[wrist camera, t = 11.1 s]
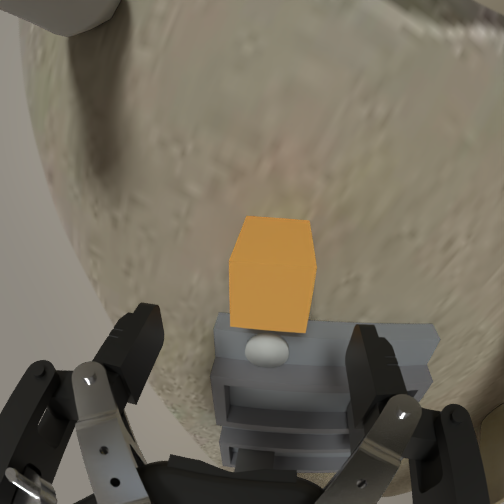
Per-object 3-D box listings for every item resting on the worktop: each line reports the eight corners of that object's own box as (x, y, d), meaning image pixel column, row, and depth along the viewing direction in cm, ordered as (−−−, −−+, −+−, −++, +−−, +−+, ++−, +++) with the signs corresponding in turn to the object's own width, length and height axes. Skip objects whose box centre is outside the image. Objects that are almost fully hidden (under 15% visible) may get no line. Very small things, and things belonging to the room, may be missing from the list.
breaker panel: (433, 321, 21) (449, 354, 17) (352, 455, 33) (354, 477, 29) (219, 310, 22) (206, 346, 19) (228, 449, 35) (224, 473, 31)
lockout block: (309, 220, 18) (316, 267, 13) (302, 274, 20) (305, 333, 15) (246, 215, 19) (228, 260, 14) (245, 269, 21) (230, 326, 15)
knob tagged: (275, 441, 28) (270, 496, 22) (272, 454, 30) (267, 503, 23) (240, 438, 28) (230, 491, 22) (240, 451, 30) (231, 499, 24)
